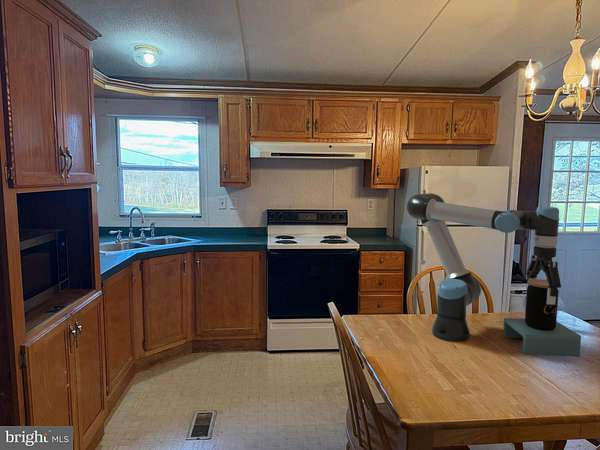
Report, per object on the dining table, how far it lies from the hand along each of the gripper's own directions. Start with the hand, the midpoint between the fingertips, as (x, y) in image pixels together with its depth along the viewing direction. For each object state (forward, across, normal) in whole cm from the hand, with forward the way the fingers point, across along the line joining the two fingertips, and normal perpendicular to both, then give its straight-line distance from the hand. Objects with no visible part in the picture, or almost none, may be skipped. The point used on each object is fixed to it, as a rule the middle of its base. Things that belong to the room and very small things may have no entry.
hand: (540, 298), depth 151 cm
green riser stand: (+19, 0, 0) cm, 19 cm away
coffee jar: (+12, 0, 0) cm, 12 cm away
